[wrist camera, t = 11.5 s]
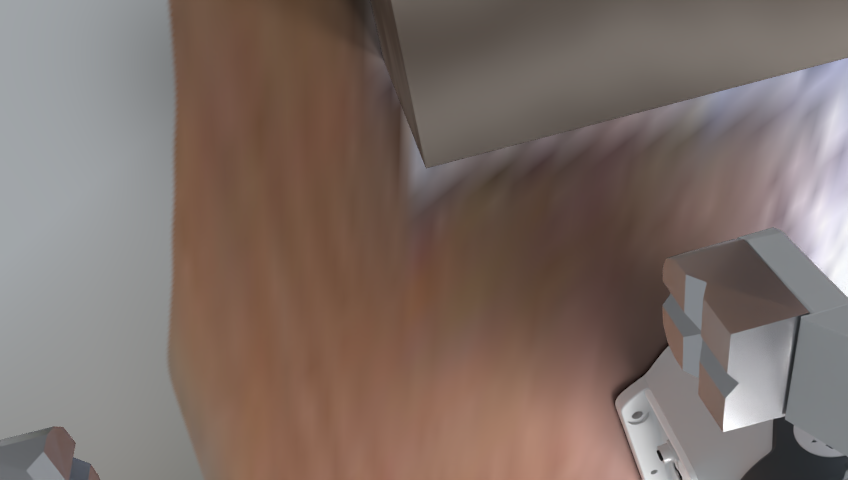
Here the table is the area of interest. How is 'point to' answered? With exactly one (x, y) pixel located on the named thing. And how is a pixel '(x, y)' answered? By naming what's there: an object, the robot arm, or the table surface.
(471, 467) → the table surface
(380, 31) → the divided storage tray
